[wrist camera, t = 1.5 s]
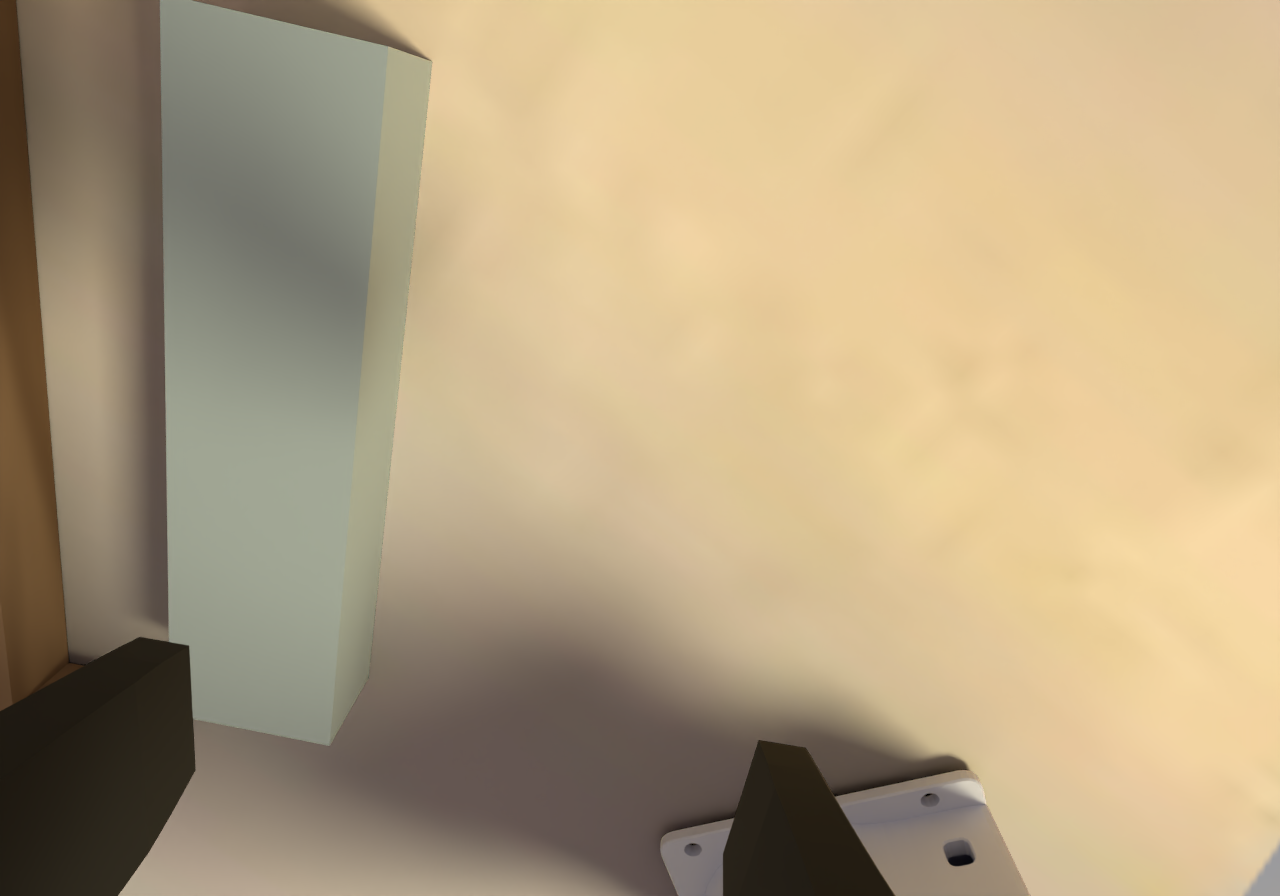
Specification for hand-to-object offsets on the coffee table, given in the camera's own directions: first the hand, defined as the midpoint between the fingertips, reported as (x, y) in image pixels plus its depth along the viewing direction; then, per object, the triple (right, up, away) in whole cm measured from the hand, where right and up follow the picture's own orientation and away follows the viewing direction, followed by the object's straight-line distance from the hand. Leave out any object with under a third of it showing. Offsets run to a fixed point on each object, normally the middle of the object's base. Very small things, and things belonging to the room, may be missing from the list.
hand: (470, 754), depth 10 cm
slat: (-6, +5, +9) cm, 12 cm away
